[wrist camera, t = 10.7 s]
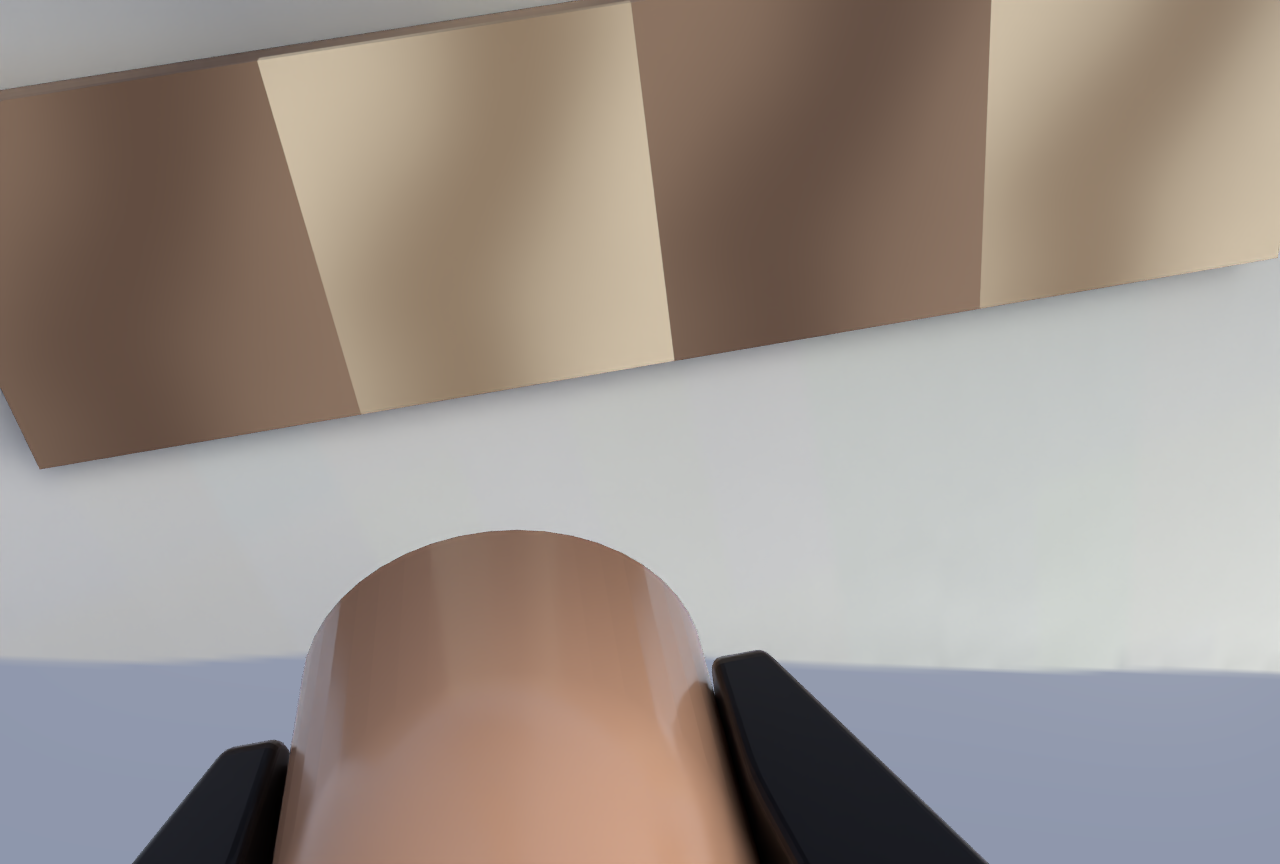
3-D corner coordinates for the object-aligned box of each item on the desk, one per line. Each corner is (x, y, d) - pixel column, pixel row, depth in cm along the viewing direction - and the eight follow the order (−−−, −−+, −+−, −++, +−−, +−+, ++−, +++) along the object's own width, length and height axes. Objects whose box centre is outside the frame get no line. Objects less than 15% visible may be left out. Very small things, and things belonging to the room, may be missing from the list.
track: (1311, -114, 18) (1345, -109, 17) (1251, 241, 21) (1277, 257, 20) (-104, 106, 17) (-129, 120, 16) (54, 445, 20) (39, 468, 19)
